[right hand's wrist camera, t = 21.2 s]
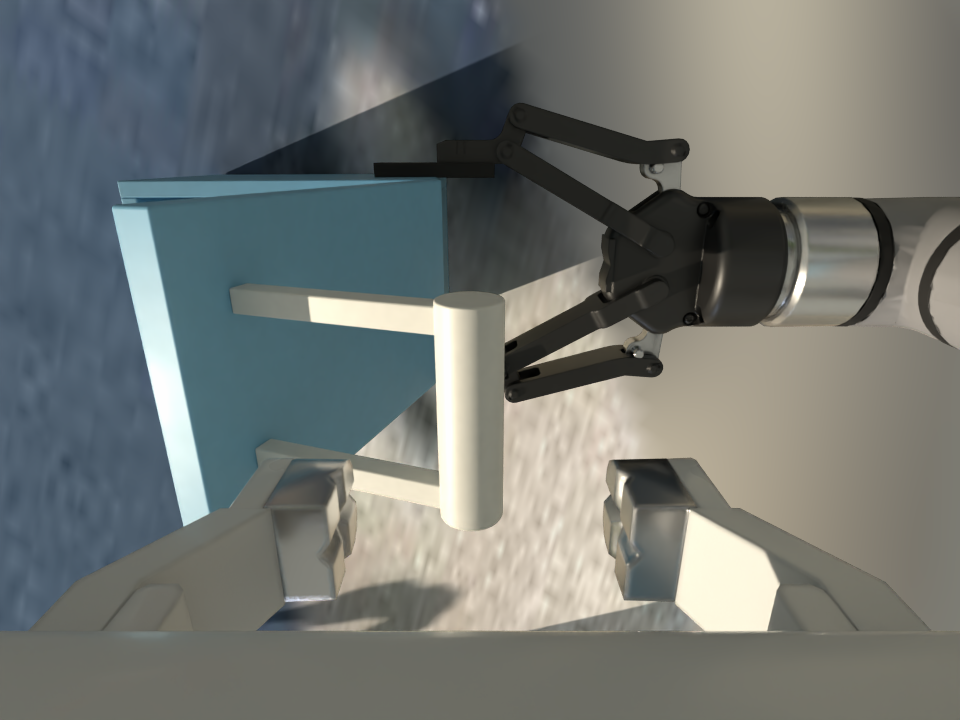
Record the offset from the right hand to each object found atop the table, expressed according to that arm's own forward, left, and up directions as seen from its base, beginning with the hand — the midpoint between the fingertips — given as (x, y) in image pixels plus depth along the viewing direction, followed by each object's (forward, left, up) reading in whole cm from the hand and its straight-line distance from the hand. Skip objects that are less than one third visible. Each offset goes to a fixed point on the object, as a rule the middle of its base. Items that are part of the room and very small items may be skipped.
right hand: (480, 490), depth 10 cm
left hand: (-2, -6, -24) cm, 25 cm away
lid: (-2, -5, -11) cm, 13 cm away
